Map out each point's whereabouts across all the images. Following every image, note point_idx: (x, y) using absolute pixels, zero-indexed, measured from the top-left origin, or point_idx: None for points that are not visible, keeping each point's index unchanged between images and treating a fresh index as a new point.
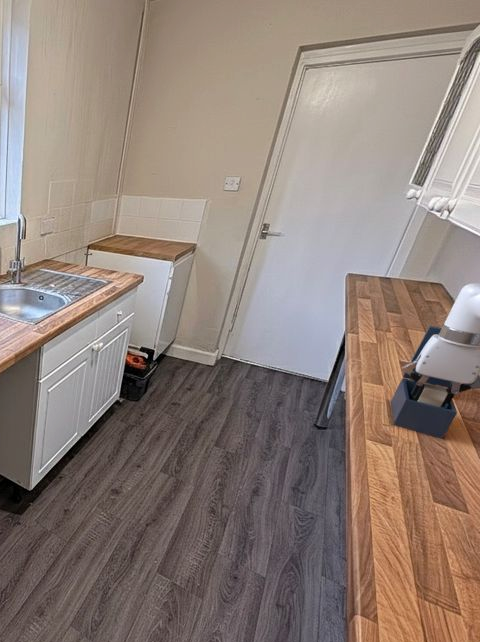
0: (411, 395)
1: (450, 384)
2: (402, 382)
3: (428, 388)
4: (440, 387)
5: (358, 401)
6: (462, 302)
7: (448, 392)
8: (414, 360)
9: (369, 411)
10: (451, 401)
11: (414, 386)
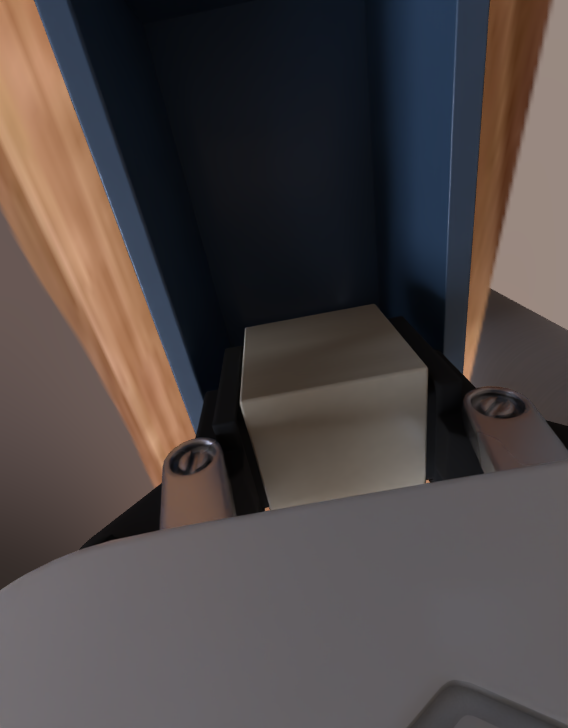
0: None
1: (477, 440)
2: (59, 64)
3: (297, 505)
4: (384, 397)
5: (21, 230)
6: None
7: (435, 479)
8: None
9: (116, 322)
10: (458, 267)
11: (200, 434)
